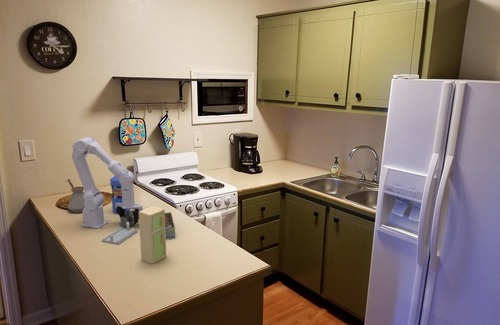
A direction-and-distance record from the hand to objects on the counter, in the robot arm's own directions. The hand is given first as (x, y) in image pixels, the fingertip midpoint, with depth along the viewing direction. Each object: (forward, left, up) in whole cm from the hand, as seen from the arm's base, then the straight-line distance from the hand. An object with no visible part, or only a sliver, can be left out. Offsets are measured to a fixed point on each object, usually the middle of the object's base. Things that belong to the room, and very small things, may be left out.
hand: (129, 222), depth 175 cm
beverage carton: (+20, -1, -2) cm, 21 cm away
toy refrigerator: (+30, -26, -2) cm, 40 cm away
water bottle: (-16, +15, -2) cm, 22 cm away
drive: (0, 0, -2) cm, 2 cm away
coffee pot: (-43, +11, -2) cm, 44 cm away
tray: (+4, -13, -2) cm, 14 cm away
